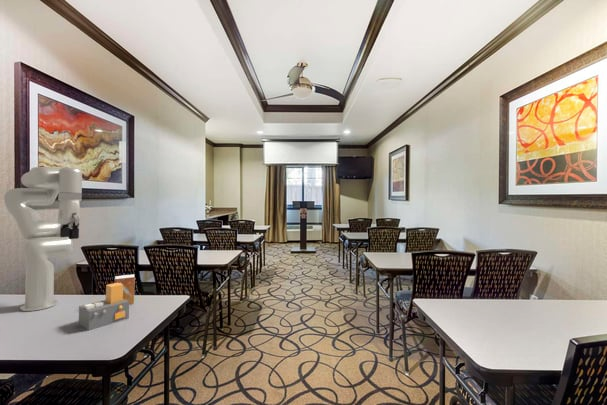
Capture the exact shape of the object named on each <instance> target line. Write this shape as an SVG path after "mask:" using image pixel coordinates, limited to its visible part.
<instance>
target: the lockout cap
mask: <svg viewBox="0 0 607 405" xmlns="http://www.w3.org/2000/svg"><path fill="white" fill-rule="evenodd" d="M105 300H106V302H107V303H110V304H113V303H117V302H120V301H123V284H121V283H115V282H114V283H113V282H112V283H108V284H106V285H105Z"/></svg>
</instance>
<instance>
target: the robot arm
mask: <svg viewBox="0 0 607 405" xmlns="http://www.w3.org/2000/svg"><path fill="white" fill-rule="evenodd" d="M20 182H21V184H22V185H23V186H24V187H21V188H20V187H17V188H16V187H15V188H11V189H8V190H7V191H6V192H5V193H4V195H3V196H4V197H3V199H4V200H3V201H4V205H5V207H6V210H7V212H8V213H9V214H10V215H11V216H12V217H13V219H15V222H16V224H17V226H18V230H19V231H20V234H21V236H22V237H23V239H25V243H24V244H23V248H22V249H23V255H24V260H25V292H24V294H25V295H24V304H22V305H21V306H20V307H19V310H20V311H21V312H33V311H40V310H41V311H42V310H45V309H48V308H49V309H50V308H53V307H55V306H56V305H58V302H59V301H58V299H54V296H55V295H54V292H55V285H54V283H55V267H54V264H53V263H52V262H51V261H50V260H48V259H49V258H56V257H63V256H68V255H70V254H71V253H73V251H74V242H73V240H74V239H79V238H80V221H81V205H80V204H81V203H80V202H81V201H82V197H83V196H82V194H83V192H82V191H83V190H82V189H83V188H82V187H83V171H82V170H81V169H79V168H75V167H60V168H59V167H52V166H51V167H50V166H49V167H47V166H35V167H32V168H31V169H30V170H29V171H28V172H25V173H24V174H22V175H21V177H20ZM25 187H26V188H25ZM57 196H58V199H57ZM55 200H57V201H58V202H59V205H58V213H57V219H50V220H48V219H47V220H46V219H42V217H41V214H39V212H38V211H37V210H35V209H34V208H32V207H30V206H41V207H42V206H43V207H44V206H50V205H53V204H54V202H55Z"/></svg>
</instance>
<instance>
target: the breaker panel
mask: <svg viewBox="0 0 607 405" xmlns="http://www.w3.org/2000/svg"><path fill="white" fill-rule="evenodd" d="M129 318H130V304H129V301H127V300H125V299H123V301H120V302H117V303H113V304H110V303H107V302H106V299H103V300H100V301H95V302H92V303H91V302H90V303H87V304H83V305H80V306H78V325H80V326H81V327H83V328H84V329H86V330H88V331H92V330H94V329H98V328H101V327H104V326H108V325H110V324H114V323H118V322H120V321H124V320H127V319H129Z"/></svg>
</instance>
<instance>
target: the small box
mask: <svg viewBox="0 0 607 405" xmlns="http://www.w3.org/2000/svg"><path fill="white" fill-rule="evenodd" d="M135 280H136V278H135V274H125V275H124V274H123V275H118V276H117V275H114V283H121V284H123V299H125V300H127V301H129V305H134V304H135V284H136V283H135V282H136V281H135Z"/></svg>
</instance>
